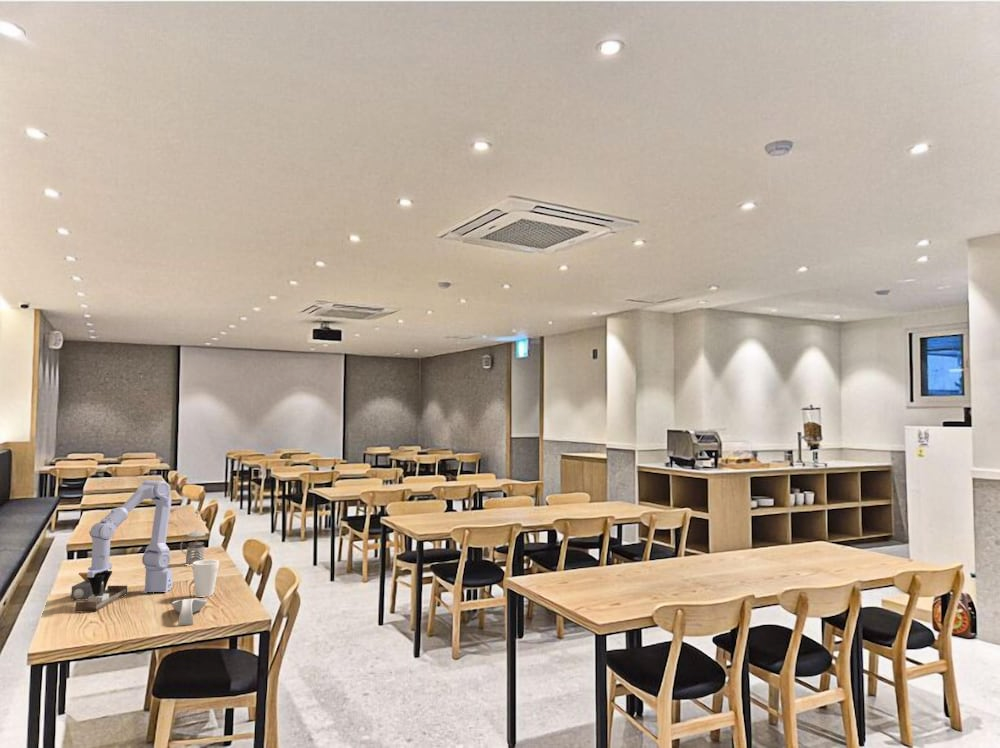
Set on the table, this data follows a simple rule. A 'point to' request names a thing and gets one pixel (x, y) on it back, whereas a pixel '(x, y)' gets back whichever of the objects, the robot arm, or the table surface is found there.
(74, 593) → the box
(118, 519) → the robot arm
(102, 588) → the carriage
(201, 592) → the foam cup
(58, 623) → the table surface
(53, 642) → the table surface
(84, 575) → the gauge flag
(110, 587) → the rail
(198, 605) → the spoon rest
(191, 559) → the french press
